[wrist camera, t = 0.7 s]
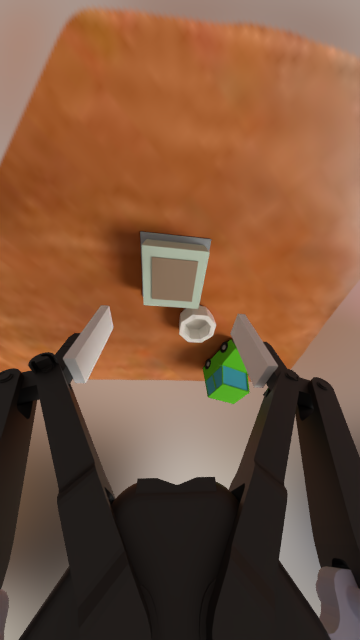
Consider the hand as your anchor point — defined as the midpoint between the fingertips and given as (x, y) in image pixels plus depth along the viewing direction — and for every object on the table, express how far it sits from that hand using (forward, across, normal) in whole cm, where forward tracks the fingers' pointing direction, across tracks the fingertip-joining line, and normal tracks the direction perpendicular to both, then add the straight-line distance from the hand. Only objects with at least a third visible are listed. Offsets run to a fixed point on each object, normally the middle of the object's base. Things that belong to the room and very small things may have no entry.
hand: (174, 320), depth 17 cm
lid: (+16, 0, 0) cm, 17 cm away
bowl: (+17, +6, -11) cm, 21 cm away
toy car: (+17, +17, -24) cm, 33 cm away
